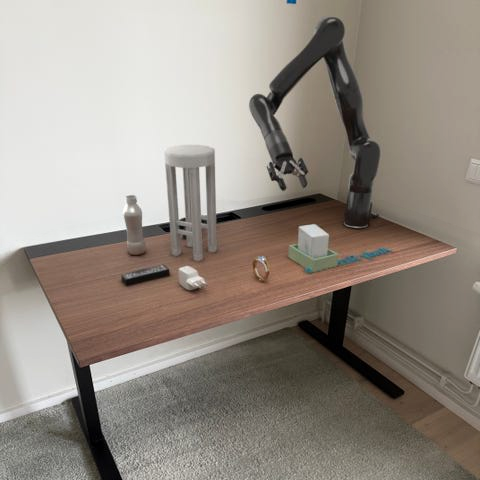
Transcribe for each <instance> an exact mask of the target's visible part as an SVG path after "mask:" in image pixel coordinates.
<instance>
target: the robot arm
mask: <svg viewBox="0 0 480 480" xmlns="http://www.w3.org/2000/svg"><path fill="white" fill-rule="evenodd" d="M313 32H314V33H313V36H312V38H311V39H310V40H309V42H308V43H307V44H306V45H305V47H304V48H303V49H302V50H301V51H300V52H299V53H298V54H296V56H295V57H294V58H292V59H291V60H290V61H289V62H288V63H287V64H285V66H284V67H283V68H282V69H281V70H280V71H279V72H278V73H277V75H275V77H273V79H272V80H271V81H270V83H269V85H268V88H269V90H270V91H269V93H268V94H267V96H265V95H264V94H262V93H255V94H253V95H252V96H251V97H250V99H249V102H248V108H249V112H250V115H251V116H252V118H253V121H254V122H255V123H256V125H257V126H258V127H259V130H260V134H261V136H262V138H263V140H264V144H265V148H266V150H267V152H268V154H269V157H270V159H271V161H269V162H268V163H267V165H266V170H267V171H268V175H269V179H270V180H271V182H276V183H277V185H278V187H279V189H280V190H281V191H282V192H285V191H286V190H287V189H288V188H287V185H286V182H285V179H284V177H283V176H285V175H291V174H292V175H293V176H296V177H297V178H298V180H299V183H300V185H301V187H302V189H305V188H306V187H307V185H308V180H307V178H306V176H307V174H308V173H309V170H308V168H307V165H306V163H305V161H304V159H303V158H302V157H299V158H298V159H295V158H294V154H293V153H294V152H293V151H292V148H291V145H290V143H289V141H288V139H287V136H286V135H285V133H284V130H283V129H282V127H281V124H280V121H279V120H278V119H277V117H276V116H275V115H276V113H277V112H278V110H279V109H280V106H281V105H282V104H283V101H284V99H285V98H286V97H287V96H288V95H289V93H291V92H292V90H293V89H295V87H296V86H297V85H298V84H299V83H300V81H302V79H303V78H304V77H305V76H306V75H307V74H308V72H310V70H312V68H314V67H315V65H316V64H318V63H319V62H320V61H321V60H322V59H323V60H324V63H325V66H326V70H327V75H328V79H329V84H330V88H331V91H332V95H333V98H334V99H333V100H334V102H335V104H336V109H337V110H338V111H337V112H338V114H339V116H340V120H341V122H342V124H343V127H344V129H345V130H344V131H345V134H346V136H347V137H346V138H347V142H348V149H349V152H350V156H351V158H352V160H353V161H354V166H353V167H354V168H353V172H352V173H350V175H349V179H348V189H347V198H346V205H345V212H344V221H343V225H344V226H345V227H346V228H349V229H354V230H355V229H356V230H362V229H366V228H367V227H368V226H370V224H371V218H377V217H379V216H380V214H379V213H377V214H373V213H372V209H373V201H372V198H373V197H372V196H373V189H374V183H375V182H374V181H375V179H376V177H377V175H378V170H379V165H380V161H381V160H380V158H381V147H380V144H379V143H378V142H377V141H375V140H374V139H372V138H371V137H370V134H369V133H368V129H367V127H366V124H365V117H364V113H365V109H364V106H365V104H364V98H363V93H362V90H361V86H360V83H359V81H358V78H357V75H356V73H355V71H354V69H353V67H352V65H351V63H350V61H349V59H348V56H347V53H346V49H345V45H344V38H345V34H346V28H345V24H344V22H343V20H342V19H341V18H339V17H337V16H334V15H325V16H322V17H321V18H320V19H318V21H317V22H316V24H315V27H314V31H313ZM276 170H277V171H276Z"/></svg>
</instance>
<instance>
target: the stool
mask: <svg viewBox="0 0 480 480" xmlns="http://www.w3.org/2000/svg"><path fill="white" fill-rule="evenodd" d="M163 153H164V167H165V179H166V180H165V181H166V192H167V194H166V195H167V205H168V218H169V219H168V220H169V221H168V222H169V232H170V246H171V255H172V256H176V257H178V256H180V255H181V254H182V248H181V235H182V236H183V235H187V238H186V247H189V248H192V255H193V261H195V262H200V261H202V260H203V259H204V257H203V255H204V254H203V230H202V229H207V252H209V253H215V252H216V251H218V242H217V241H218V240H217V238H218V235H217V233H218V232H217V196H216V195H217V193H216V154H215V153H216V150H215V148H214V147H211V146H209V145H202V144H180V145H172V146H169V147H167V148H165V150H164V152H163ZM203 167H205V168H204V169H205V193H206V194H205V196H206V198H205V199H206V215H205V214H202V207H201V206H202V205H201V203H202V202H201V201H202V200H201V179H200V168H203ZM176 168H180V169H182V181H183V182H182V183H183V199H184V215H185V217H184V218H186V222H184V221H179V220H180V216H179V214H180V213H179V201H178V187H177V186H178V183H177V169H176ZM201 219H204V220H207V224H206V223H204V222H202V221H201ZM180 226H181V227H185V226H186V231H185V230H184V229H180Z"/></svg>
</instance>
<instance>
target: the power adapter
mask: <svg viewBox="0 0 480 480" xmlns="http://www.w3.org/2000/svg"><path fill="white" fill-rule="evenodd" d="M177 271H178V272H177V273H178V282H179V285H180V286H181V287H182V288H184V289H185V290H187V291H193V290H196V289H202V285H205V286H206V287H209V283H207V282H206V280H205V278H204V277H202V276H200V275H199V271H198V270H197V269H196V268H194V267H192V266H190V265H185V266H182V267H179V268H178V270H177Z"/></svg>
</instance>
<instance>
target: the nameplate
mask: <svg viewBox="0 0 480 480" xmlns="http://www.w3.org/2000/svg"><path fill="white" fill-rule="evenodd" d="M387 253H393V250H391V249H389V248H388V249H387V248H384V247H380V248H379V249H378V250H374V251H369V252H367V251H364V253H363V254H359V257H358V258H357V255H355V254H351V255H349V256H346V257H345V258H342V259H340V260H339V259H338V265H337V266H336V267H334V266H333V267H332V268H337V267H338V266H344V263H345V265H348V264H352V263H355V262H359V261H362V258H364V259H367V260H372V258H376V257H377V256H381V255H386V254H387ZM332 268H330V267H329V268H328V269H327V270H329V269H332ZM325 270H326V269H325V268H323V270H322V271H325ZM304 272H306V273H307V274H308V275H309V274H312V273H314V272H313V270H311V269H309V268H305V269H304ZM316 272H320V271H319V269H318V270H317V271H316Z"/></svg>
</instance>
